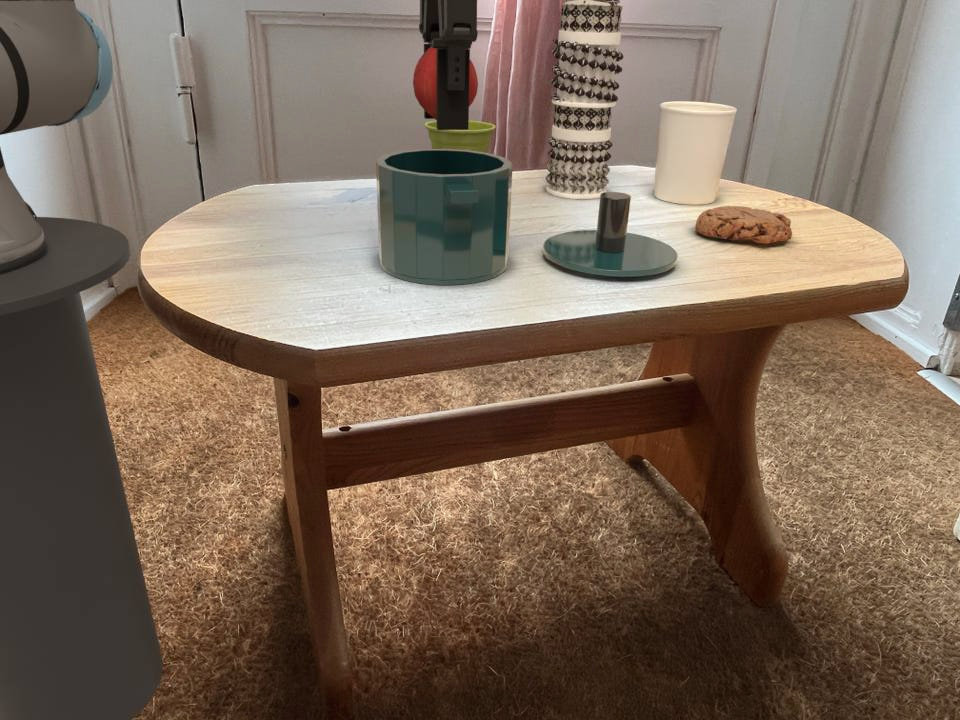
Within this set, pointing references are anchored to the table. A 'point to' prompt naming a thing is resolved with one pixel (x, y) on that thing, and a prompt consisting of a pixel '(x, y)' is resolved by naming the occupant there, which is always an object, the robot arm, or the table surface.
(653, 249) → the pot lid
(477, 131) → the plant pot
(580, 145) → the decorative candle
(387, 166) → the pot
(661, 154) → the white cup
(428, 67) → the onion
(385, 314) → the table surface
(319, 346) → the table surface
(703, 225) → the cookie
